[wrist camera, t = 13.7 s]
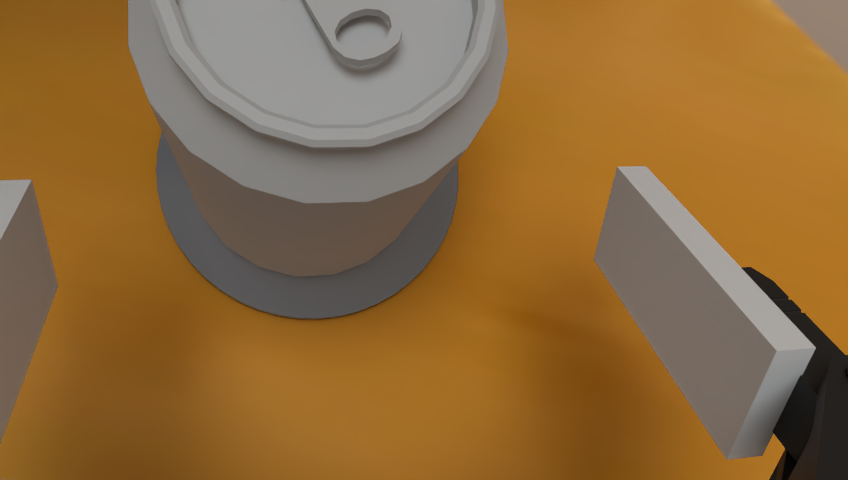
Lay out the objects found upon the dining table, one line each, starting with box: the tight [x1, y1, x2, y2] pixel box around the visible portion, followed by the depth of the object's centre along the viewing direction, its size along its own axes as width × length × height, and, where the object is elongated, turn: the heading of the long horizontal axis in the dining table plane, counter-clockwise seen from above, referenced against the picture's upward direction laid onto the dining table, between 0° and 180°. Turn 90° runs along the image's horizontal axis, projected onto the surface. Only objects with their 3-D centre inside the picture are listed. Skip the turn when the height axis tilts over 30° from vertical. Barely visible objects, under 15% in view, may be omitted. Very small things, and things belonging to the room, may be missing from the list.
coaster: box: [156, 131, 458, 320], centre depth 25 cm, size 10×10×1 cm
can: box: [128, 0, 508, 277], centre depth 18 cm, size 8×8×12 cm
